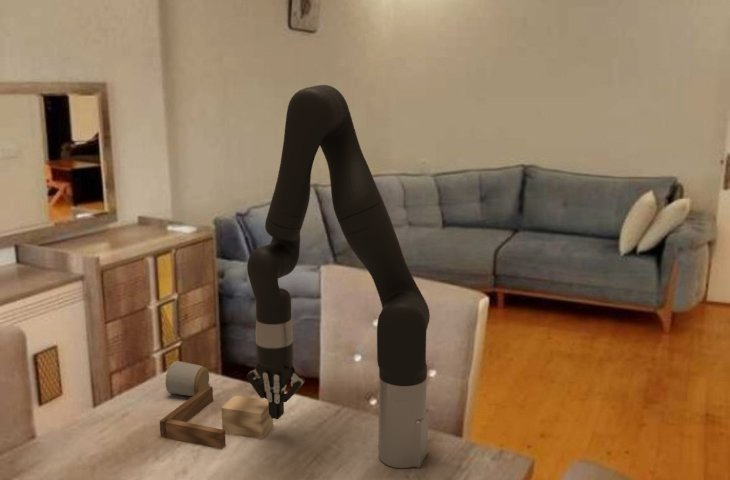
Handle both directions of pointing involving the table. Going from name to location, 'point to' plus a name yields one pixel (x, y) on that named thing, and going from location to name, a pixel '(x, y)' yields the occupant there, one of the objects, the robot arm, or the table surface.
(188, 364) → the ceramic mug
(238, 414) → the oak block
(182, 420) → the corner fence
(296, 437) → the table surface
